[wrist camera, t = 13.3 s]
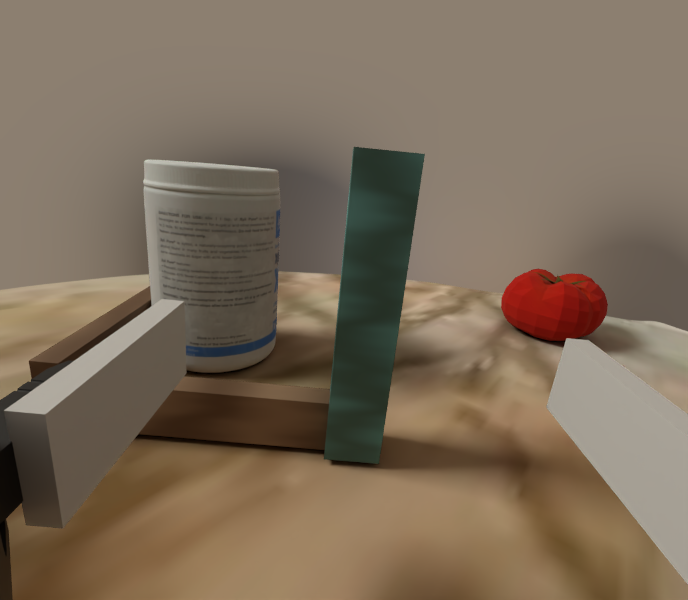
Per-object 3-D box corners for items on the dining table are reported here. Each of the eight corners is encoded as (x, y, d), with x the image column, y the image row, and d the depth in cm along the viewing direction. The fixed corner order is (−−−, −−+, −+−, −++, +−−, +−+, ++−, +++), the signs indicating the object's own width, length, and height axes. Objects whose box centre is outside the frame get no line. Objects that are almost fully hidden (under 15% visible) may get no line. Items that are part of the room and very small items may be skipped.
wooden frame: (29, 434, 22) (-29, 108, 17) (173, 311, 40) (166, 136, 35) (378, 463, 22) (424, 154, 17) (365, 329, 40) (385, 159, 35)
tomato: (485, 328, 45) (497, 271, 43) (519, 309, 53) (531, 260, 51) (582, 361, 39) (602, 296, 37) (604, 333, 47) (621, 279, 45)
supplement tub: (298, 354, 35) (310, 173, 30) (193, 393, 28) (188, 165, 23) (232, 319, 40) (233, 163, 36) (132, 343, 34) (118, 154, 29)
